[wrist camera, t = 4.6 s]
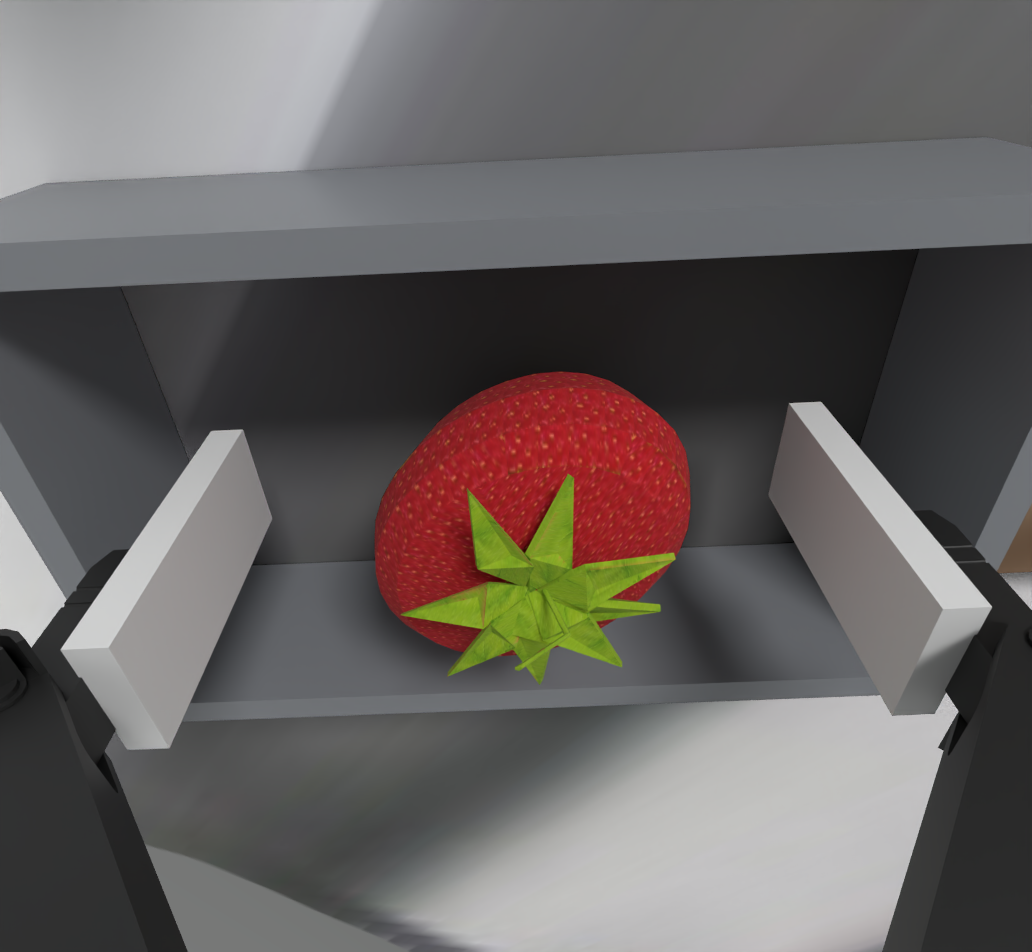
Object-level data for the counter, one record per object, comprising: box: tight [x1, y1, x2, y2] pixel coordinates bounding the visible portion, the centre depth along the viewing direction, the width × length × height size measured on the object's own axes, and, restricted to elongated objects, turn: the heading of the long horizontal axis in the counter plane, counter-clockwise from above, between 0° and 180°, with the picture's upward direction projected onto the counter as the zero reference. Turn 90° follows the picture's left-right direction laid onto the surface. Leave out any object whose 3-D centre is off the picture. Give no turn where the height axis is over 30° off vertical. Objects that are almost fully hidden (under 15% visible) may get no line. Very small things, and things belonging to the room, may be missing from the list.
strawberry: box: [375, 371, 691, 685], centre depth 15 cm, size 6×8×10 cm
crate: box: [0, 137, 1032, 722], centre depth 17 cm, size 13×22×6 cm, turn 92°
